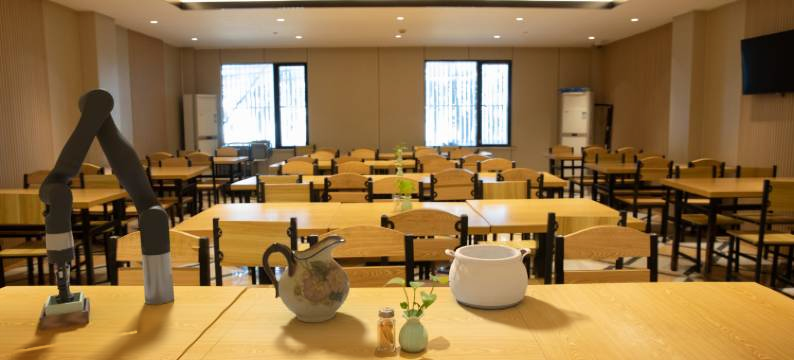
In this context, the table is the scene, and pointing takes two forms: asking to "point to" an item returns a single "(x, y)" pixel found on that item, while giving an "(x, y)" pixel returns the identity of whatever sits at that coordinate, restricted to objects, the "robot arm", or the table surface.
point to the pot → (488, 276)
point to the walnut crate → (65, 318)
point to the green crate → (64, 305)
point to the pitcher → (310, 280)
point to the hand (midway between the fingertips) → (65, 298)
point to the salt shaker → (70, 295)
